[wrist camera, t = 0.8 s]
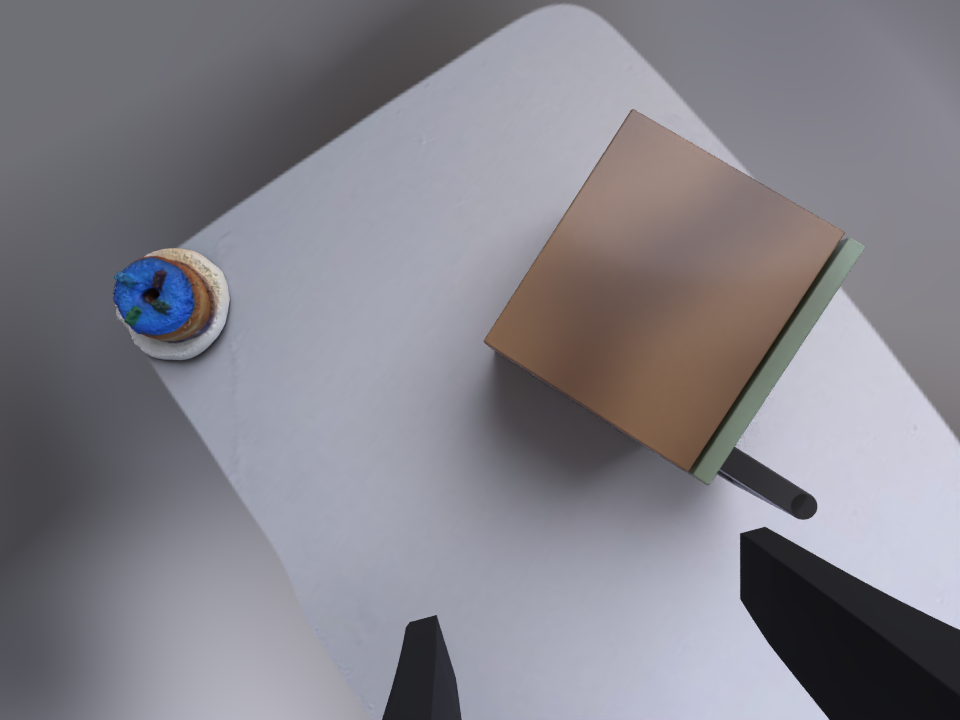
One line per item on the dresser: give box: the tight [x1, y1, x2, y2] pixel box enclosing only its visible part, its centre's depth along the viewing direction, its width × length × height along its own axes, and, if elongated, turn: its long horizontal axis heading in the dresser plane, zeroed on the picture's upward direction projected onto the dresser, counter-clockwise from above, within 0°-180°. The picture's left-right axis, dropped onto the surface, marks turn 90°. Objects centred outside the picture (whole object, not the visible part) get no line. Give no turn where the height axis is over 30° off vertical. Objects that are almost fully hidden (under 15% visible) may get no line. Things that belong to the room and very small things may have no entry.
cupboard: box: [484, 109, 845, 472], centre depth 26 cm, size 10×12×11 cm
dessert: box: [113, 249, 230, 360], centre depth 32 cm, size 8×7×6 cm
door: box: [636, 238, 865, 520], centre depth 25 cm, size 6×12×10 cm, turn 148°
